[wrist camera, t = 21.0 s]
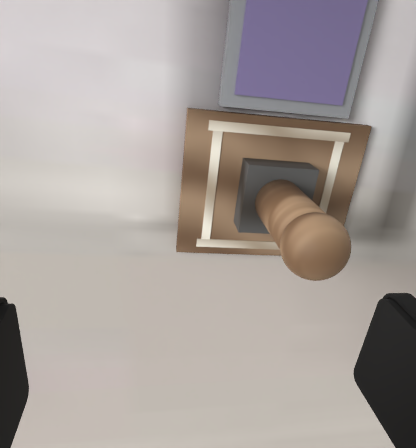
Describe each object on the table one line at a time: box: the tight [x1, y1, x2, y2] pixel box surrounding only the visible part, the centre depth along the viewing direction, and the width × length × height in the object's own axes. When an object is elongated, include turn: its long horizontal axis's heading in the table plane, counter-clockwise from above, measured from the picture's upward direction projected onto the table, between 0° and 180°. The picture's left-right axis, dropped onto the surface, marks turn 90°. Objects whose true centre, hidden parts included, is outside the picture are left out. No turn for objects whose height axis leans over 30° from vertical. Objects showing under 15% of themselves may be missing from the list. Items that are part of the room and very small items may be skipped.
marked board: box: [176, 108, 371, 256], centre depth 33 cm, size 13×16×1 cm
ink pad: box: [218, 0, 379, 119], centre depth 28 cm, size 11×11×2 cm
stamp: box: [234, 158, 351, 281], centre depth 27 cm, size 6×6×13 cm
